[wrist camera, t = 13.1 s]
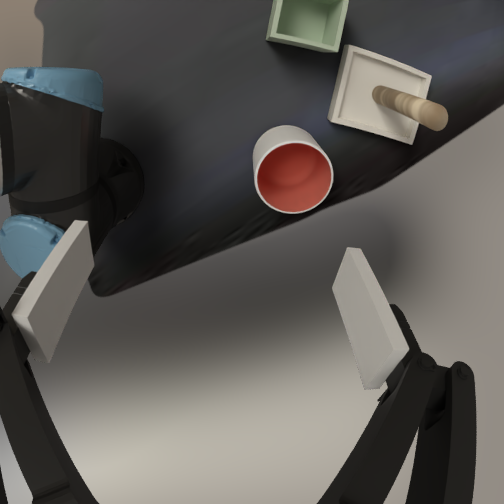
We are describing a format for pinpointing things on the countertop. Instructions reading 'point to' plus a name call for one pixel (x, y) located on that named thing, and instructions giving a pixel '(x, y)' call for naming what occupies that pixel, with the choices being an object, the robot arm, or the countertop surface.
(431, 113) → the dowel
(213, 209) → the countertop surface
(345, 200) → the countertop surface
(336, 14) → the pen pot
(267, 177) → the cup
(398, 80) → the dish
